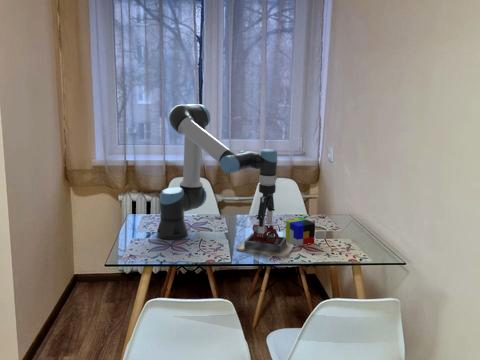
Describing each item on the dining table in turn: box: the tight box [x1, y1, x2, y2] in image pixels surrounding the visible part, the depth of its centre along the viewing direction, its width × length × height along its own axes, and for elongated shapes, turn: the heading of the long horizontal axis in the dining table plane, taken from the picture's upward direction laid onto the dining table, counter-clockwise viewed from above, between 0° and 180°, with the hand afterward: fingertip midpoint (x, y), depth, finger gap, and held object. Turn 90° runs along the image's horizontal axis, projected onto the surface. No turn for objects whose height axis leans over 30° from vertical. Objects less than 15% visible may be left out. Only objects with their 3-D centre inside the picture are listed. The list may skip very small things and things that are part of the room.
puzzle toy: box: [285, 217, 316, 247], centre depth 217 cm, size 10×10×10 cm
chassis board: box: [235, 232, 295, 258], centre depth 207 cm, size 24×14×4 cm, turn 71°
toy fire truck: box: [252, 224, 280, 245], centre depth 206 cm, size 7×12×10 cm, turn 81°
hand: (265, 228), depth 206 cm, fingers open, 13 cm apart
